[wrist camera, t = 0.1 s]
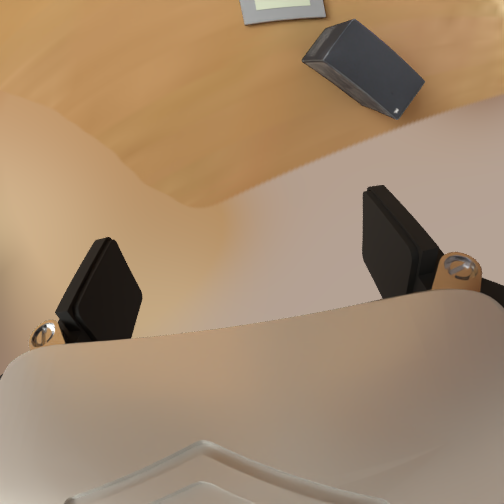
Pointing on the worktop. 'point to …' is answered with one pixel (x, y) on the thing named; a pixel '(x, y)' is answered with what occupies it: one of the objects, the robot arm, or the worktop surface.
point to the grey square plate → (280, 10)
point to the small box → (364, 68)
